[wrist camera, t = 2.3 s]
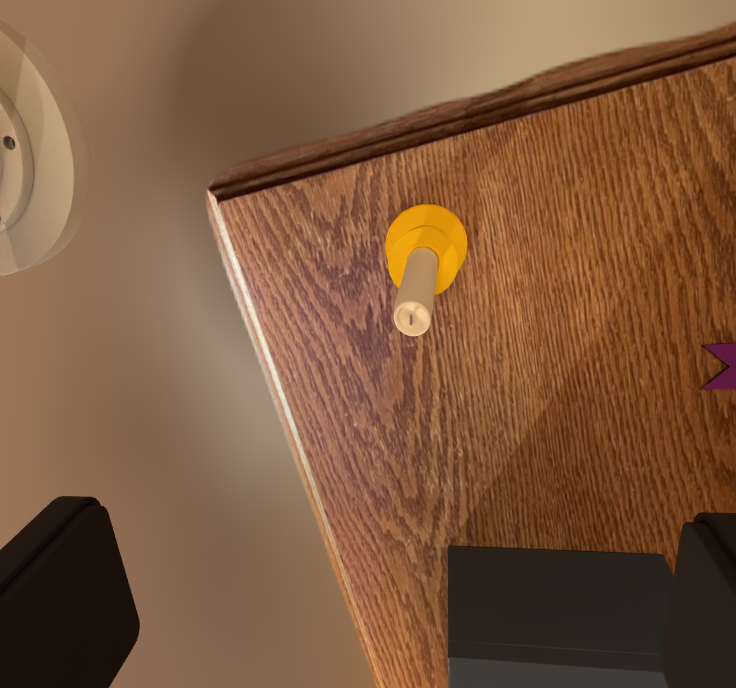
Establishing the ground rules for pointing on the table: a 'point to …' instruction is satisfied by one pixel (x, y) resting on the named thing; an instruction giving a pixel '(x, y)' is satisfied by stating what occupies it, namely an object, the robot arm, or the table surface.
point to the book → (730, 377)
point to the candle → (423, 261)
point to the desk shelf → (556, 618)
